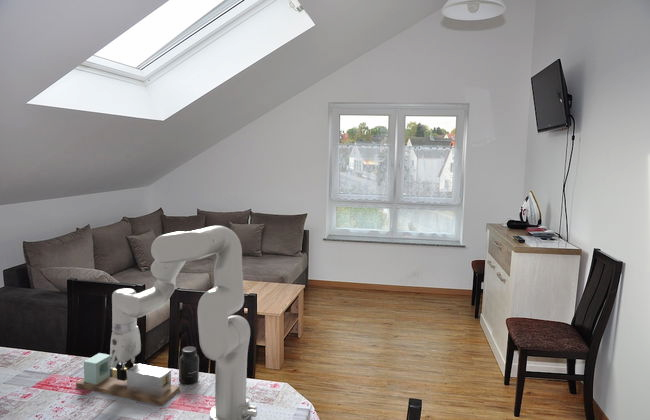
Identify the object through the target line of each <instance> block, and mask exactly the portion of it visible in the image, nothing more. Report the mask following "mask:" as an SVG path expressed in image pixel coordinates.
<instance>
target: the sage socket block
mask: <svg viewBox="0 0 650 420" xmlns="http://www.w3.org/2000/svg"><path fill="white" fill-rule="evenodd" d="M110 362H111V359H110V354H107V353H101V352H98V353H97V354H95V355H93V356H92V357H89V358H87V359H85V360H83V377H84V378H83V379H84V382H87V383H91V384H98V383H100V382H101V381H103V380H104V379H106V378H108V377H109V376H110V368H112V367H110Z"/></svg>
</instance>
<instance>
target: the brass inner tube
mask: <svg viewBox="0 0 650 420" xmlns="http://www.w3.org/2000/svg"><path fill="white" fill-rule="evenodd" d="M124 369H126V380H127V370H129V369H130V367H125V368H124ZM110 377H112V378H117V369H115V367H111V368H110ZM165 383H166V376H165V377H164V378H163V379H162V386H163V385H164V384H165Z"/></svg>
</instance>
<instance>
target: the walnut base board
mask: <svg viewBox="0 0 650 420" xmlns="http://www.w3.org/2000/svg"><path fill="white" fill-rule="evenodd" d="M75 386H76V388H79V389H83V390H88V391H93V392H97V393H102V394H106V395H110V396H115V397H120V398H125V399H129V400H133V401H136V402H137V401H138V402H142V403H146V404H147V403H148V404H152V405H156V406H160V407H161V406H163V405H164V404H166V403H167V402H168V401H170V400H171V399H172V398H174V396H175V395H177V394H178V393H179V392H180V391H181V387H180V386H178V385H173V384H171V389H170V390H169V391H167V392H166V393H165V394H164V395H162V396H161V397H159V396H154V395H149V394H144V393H140V392H135V391H130V390H127V380H125V381H122V380H118V379H117V378H112V377H110V376H109V377H108V378H106V379H104V380H103V381H101V382H100V383H98V384H91V383H87V382H84V378H82V379H80V380H79V381H77V382H76V383H75Z"/></svg>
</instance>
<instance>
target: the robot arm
mask: <svg viewBox="0 0 650 420" xmlns="http://www.w3.org/2000/svg"><path fill="white" fill-rule="evenodd" d="M150 252H151V253H150V254H151V256H152V258H153V260H154V261H153V262H152V264H151V265H150V272H151V274H152V276H153V277H155V278H156V281H155V282H154V284H153V285H152V286H151V287H150V288H148V289H144V290H142V291H140V292H137V291H136V290H135V289H133V288H127V287H126V288H125V287H123V288H118V289H116V290H114V291H113V292H112V294H111V304H112V305H111V307H112V308H111V311H112V312H111V313H112V317H111V319H112V323H111V324H112V328H111V331H112V332H111V337H110V344H109V345H110V346H109V347H110V348H109V349H110V350H109V355H110V359H111V362H110V367H111V368H112V367H115V369H117V379H118V380H122V381H125V380H126V369H124V368H125V367H130V368H132V367H133V366H135V365H134V364H135V362H136V357H137V356H138V355H139V354H140V353H141V349H142V348H141V347H142V343H141V333H140V329H139V326H138V325H137V324H138V323H137V322H138V318H139V319H140V318H142V317H144V316H146V315H148V314H150V313H152V312H155V311H157V310H159V309H161V308H162V307H164V306H165V304H167V303H168V301H169V299H170V298H171V296H172V295H173V293H174V292H175V289H176V284H177V280H176V279H177V276H178V275H179V273H180V271H181V270H182V268H183V267H184V266H185V264H186V262H191V261H197V260H201V259H204V258H206V257H209V256H210V257H211V256H213V255H216V259H215V262H214V268H213V276H214V280H213V281H214V284H213V285H214V286H213V288H211V289H208V290H207V291H206V292H205V293H203V294H202V296H201V297H199V298H200V299H199V301H198V305H197V325H198V326H197V327H198V339H199V340H198V341H199V346H200V349H201V352H202V353H203V355H204V356H205V357H206V358H207V359H209V360H212V361H215V375H214V376H215V378H214V379H215V380H214V382H215V384H214V386H215V387H214V393H215V394H214V406H213V407H211V409H210V411H209V418H210V420H248V419H249V418H250V417H253V418H256V417H257V415H258V410H257V408H258V407H257V406H256V405H251V404H250V399H249V398H247V377H248V376H247V375H248V373H247V372H248V370H247V368H248V352H249V345H250V337H251V327H250V326H251V325H250V324H249V321H248V320H247V319H246V318H245V317H243V316H241V315H237V314H235V313H237V312H238V311H240V310H241V309H242V308H243V306H244V303H245V288H244V272H243V249H242V243H241V240H240V238H239V237H238V235H237V233H235V231H234V230H232V229H230V228H229V227H226V226H224V225H211V226H207V227H203V228H199V229H198V228H197V229H194V230H191V231H190V230H188V231H181V230H180V231H174V232H169V233H165V234H160V235H159V236H157V237H156V238H155V239H154V240H153V242H152V244H151V248H150Z"/></svg>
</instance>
